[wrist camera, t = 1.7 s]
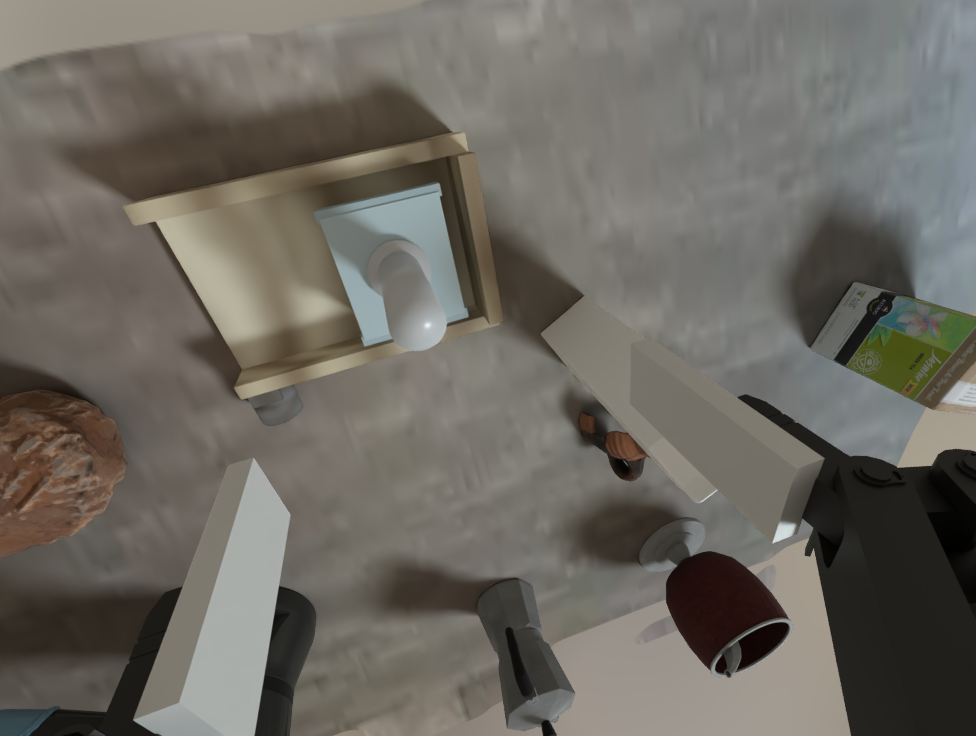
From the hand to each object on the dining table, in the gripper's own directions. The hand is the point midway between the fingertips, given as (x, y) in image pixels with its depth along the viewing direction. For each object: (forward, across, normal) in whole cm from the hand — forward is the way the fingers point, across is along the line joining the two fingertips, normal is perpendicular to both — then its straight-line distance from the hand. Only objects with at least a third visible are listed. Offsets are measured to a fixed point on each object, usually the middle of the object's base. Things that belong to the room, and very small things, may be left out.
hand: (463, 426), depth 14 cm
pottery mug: (+25, +20, -26) cm, 42 cm away
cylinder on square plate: (+24, 0, 0) cm, 24 cm away
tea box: (+25, +58, -24) cm, 68 cm away
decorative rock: (+25, -31, -8) cm, 41 cm away
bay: (+25, -5, -2) cm, 25 cm away
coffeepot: (+25, +1, -54) cm, 59 cm away
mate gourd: (+25, +30, -58) cm, 70 cm away
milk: (+25, +16, -13) cm, 32 cm away
